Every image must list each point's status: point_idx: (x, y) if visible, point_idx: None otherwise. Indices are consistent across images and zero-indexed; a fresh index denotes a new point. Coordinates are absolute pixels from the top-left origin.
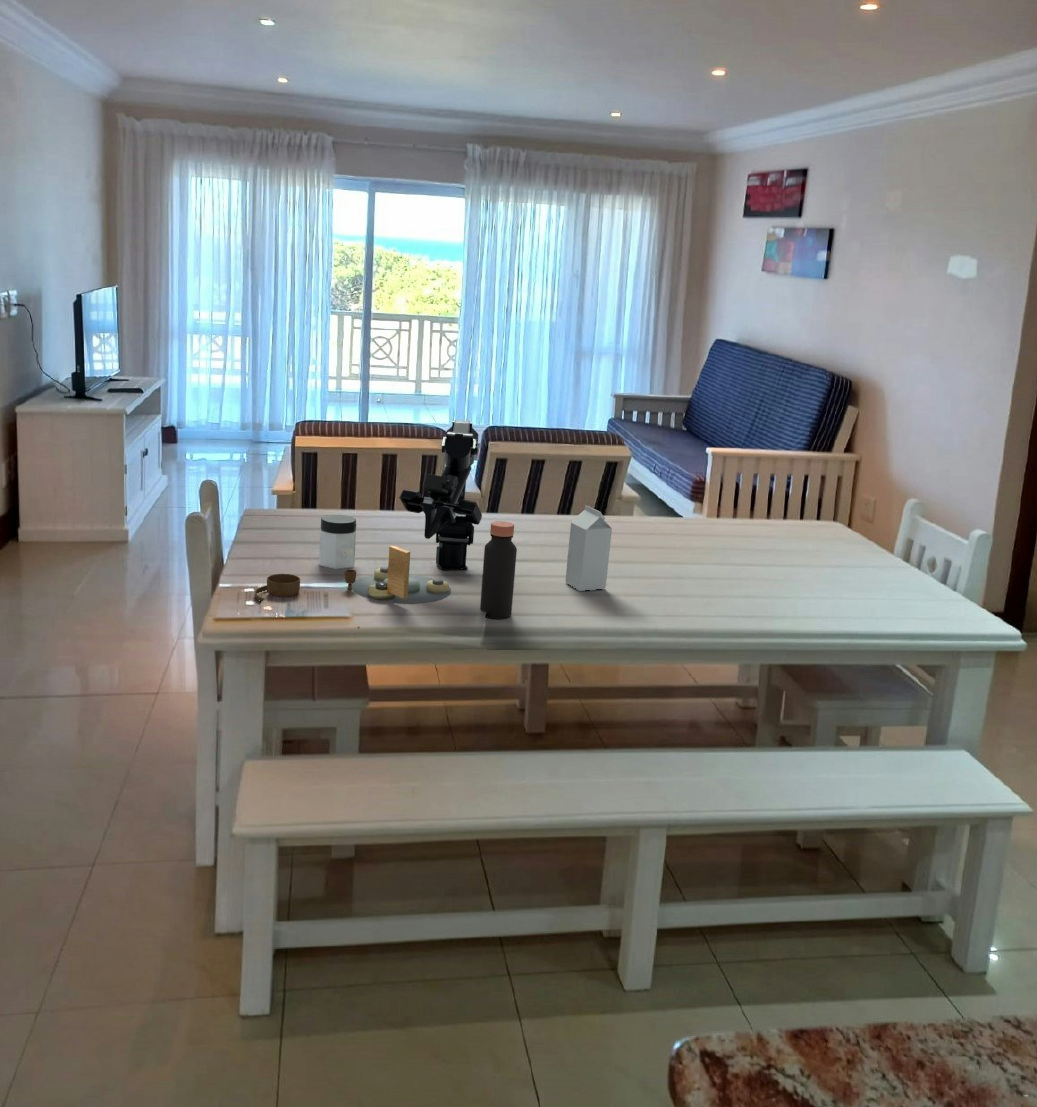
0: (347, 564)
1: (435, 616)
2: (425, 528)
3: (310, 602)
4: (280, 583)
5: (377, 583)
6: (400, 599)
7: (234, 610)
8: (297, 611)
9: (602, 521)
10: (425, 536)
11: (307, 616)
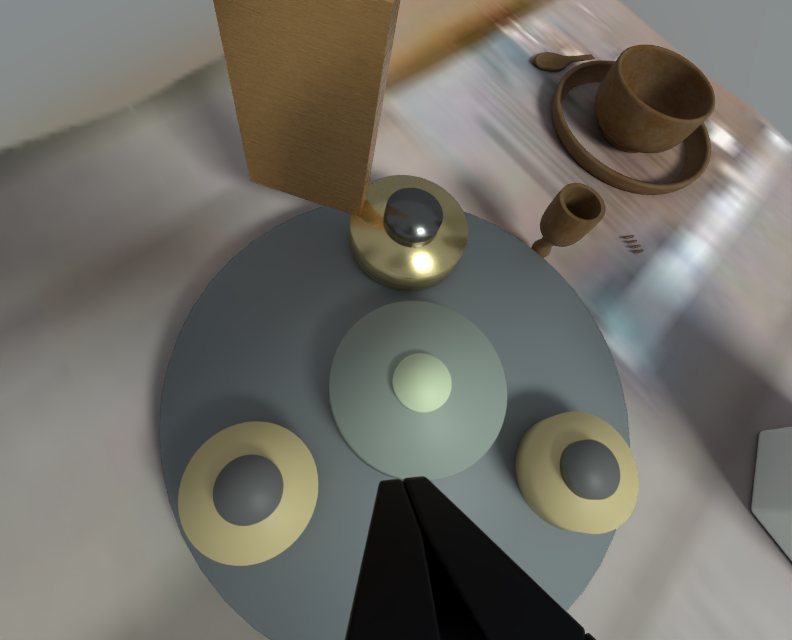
0: (787, 484)
1: (130, 234)
2: (479, 539)
3: (547, 136)
4: (632, 46)
5: (430, 202)
6: (323, 255)
7: (607, 19)
8: (512, 69)
9: None
10: (408, 479)
11: (467, 52)
